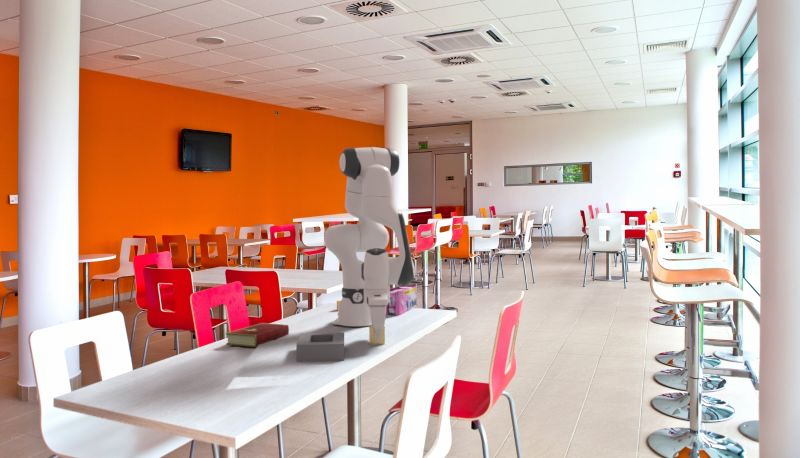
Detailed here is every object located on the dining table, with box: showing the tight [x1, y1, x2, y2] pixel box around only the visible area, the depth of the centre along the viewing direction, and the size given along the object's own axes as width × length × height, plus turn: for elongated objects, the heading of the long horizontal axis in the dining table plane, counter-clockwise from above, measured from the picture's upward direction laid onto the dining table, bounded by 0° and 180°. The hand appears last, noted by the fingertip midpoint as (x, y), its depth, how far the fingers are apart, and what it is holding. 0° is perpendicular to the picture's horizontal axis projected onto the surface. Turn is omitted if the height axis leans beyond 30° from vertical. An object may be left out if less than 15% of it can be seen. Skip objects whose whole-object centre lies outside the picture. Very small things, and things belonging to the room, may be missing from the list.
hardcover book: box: [225, 322, 290, 348], centre depth 208 cm, size 12×21×4 cm, turn 159°
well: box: [295, 331, 345, 363], centre depth 183 cm, size 18×14×5 cm
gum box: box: [385, 284, 418, 316], centre depth 252 cm, size 22×7×13 cm, turn 158°
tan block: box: [368, 325, 386, 346], centre depth 197 cm, size 4×5×6 cm
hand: (377, 337), depth 197 cm, fingers closed on tan block, 4 cm apart
